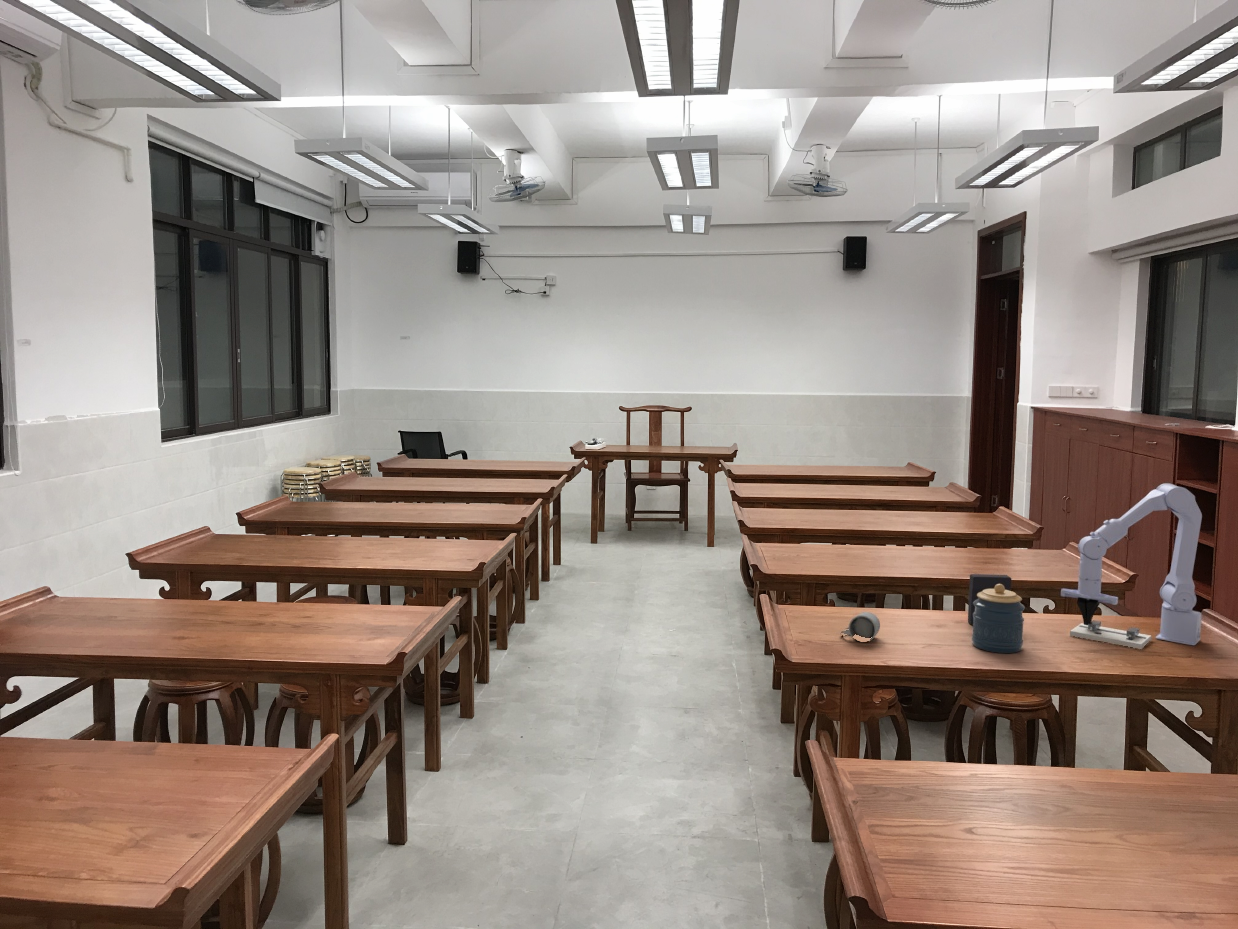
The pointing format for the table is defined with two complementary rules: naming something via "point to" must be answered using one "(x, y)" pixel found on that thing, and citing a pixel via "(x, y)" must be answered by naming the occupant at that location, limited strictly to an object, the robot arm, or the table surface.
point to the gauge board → (1111, 636)
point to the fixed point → (1132, 632)
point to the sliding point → (1094, 625)
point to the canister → (998, 621)
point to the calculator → (981, 583)
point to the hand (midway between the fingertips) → (1087, 624)
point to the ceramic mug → (863, 625)
